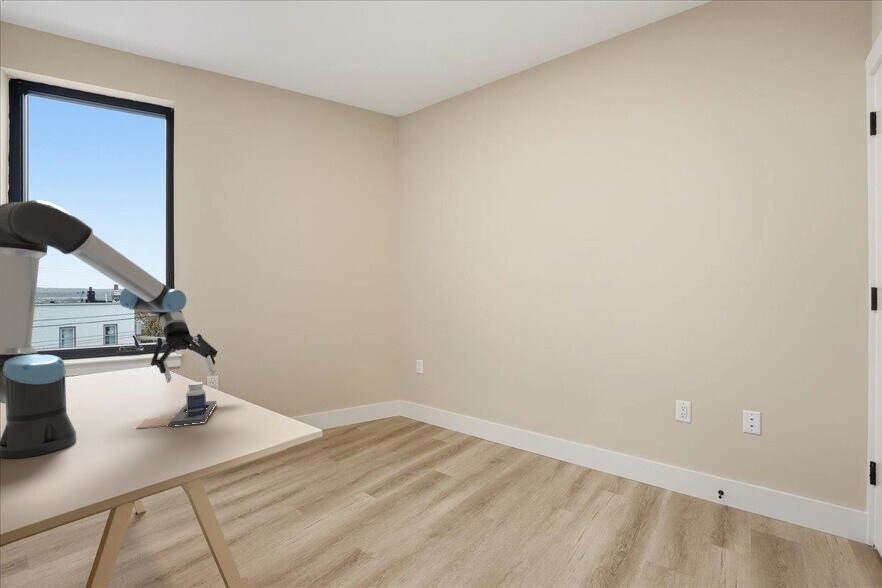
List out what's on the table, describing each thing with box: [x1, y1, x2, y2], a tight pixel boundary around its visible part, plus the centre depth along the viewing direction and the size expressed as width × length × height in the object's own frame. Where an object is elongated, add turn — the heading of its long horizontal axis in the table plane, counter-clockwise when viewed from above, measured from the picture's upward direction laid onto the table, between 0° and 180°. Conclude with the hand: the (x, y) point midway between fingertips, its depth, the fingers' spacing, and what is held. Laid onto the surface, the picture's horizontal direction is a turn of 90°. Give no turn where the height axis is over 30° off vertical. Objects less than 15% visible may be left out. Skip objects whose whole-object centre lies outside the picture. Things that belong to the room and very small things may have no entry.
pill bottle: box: [185, 381, 207, 412], centre depth 146 cm, size 5×5×10 cm
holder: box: [169, 400, 217, 427], centre depth 144 cm, size 20×9×2 cm, turn 17°
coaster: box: [135, 416, 175, 430], centre depth 137 cm, size 8×8×1 cm
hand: (192, 376), depth 151 cm, fingers open, 13 cm apart
